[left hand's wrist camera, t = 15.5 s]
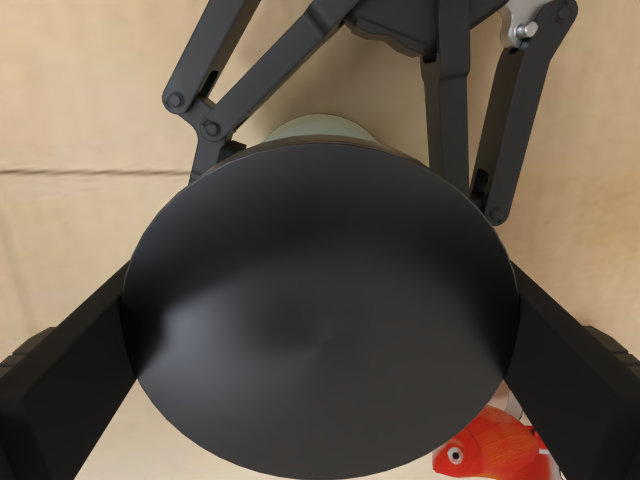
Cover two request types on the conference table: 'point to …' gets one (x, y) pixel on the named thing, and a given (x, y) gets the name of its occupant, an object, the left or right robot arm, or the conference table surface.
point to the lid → (320, 309)
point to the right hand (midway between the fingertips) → (294, 289)
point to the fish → (497, 448)
